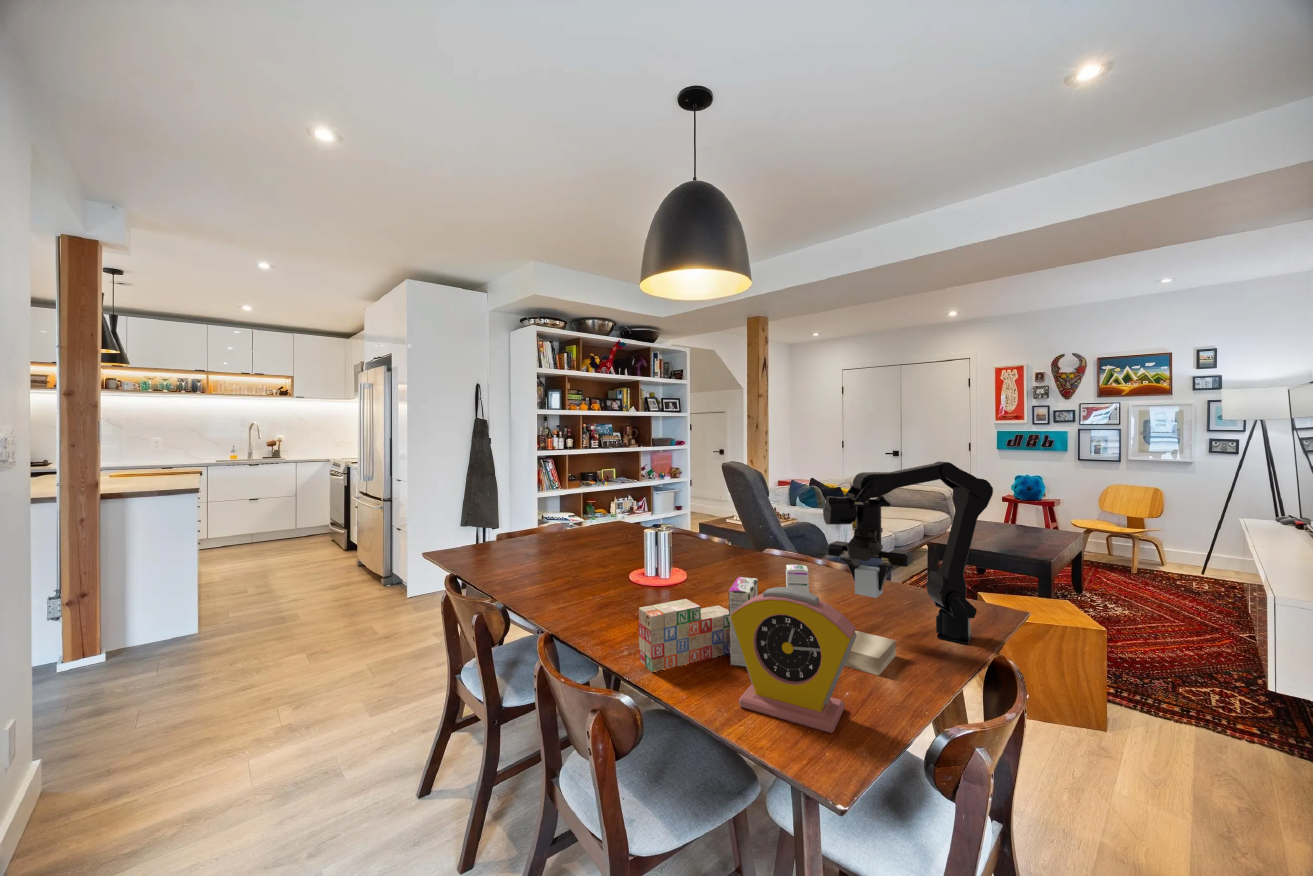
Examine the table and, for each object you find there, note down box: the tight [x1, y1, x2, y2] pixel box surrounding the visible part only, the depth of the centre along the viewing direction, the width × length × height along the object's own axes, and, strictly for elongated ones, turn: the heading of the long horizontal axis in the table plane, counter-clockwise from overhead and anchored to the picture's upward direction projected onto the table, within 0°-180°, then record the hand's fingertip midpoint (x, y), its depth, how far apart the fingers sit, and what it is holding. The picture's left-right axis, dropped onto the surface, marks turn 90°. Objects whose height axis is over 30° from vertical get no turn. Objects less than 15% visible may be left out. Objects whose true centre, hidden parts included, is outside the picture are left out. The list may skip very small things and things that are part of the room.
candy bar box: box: [728, 576, 759, 668], centre depth 113 cm, size 11×5×16 cm, turn 160°
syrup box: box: [785, 564, 810, 592], centre depth 134 cm, size 6×6×14 cm
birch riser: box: [844, 630, 897, 677], centre depth 112 cm, size 12×12×4 cm
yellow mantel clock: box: [730, 586, 857, 734], centre depth 91 cm, size 22×9×22 cm, turn 58°
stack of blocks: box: [638, 598, 730, 673], centre depth 113 cm, size 21×6×12 cm, turn 117°
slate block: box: [854, 564, 884, 599], centre depth 123 cm, size 5×5×6 cm
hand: (868, 588), depth 123 cm, fingers closed on slate block, 5 cm apart
